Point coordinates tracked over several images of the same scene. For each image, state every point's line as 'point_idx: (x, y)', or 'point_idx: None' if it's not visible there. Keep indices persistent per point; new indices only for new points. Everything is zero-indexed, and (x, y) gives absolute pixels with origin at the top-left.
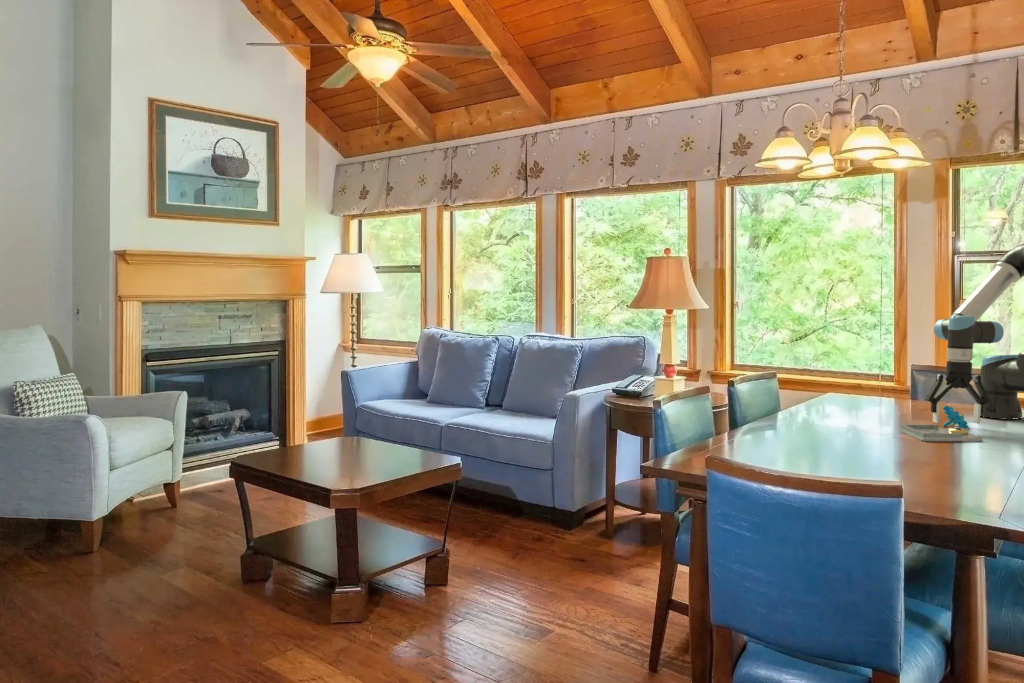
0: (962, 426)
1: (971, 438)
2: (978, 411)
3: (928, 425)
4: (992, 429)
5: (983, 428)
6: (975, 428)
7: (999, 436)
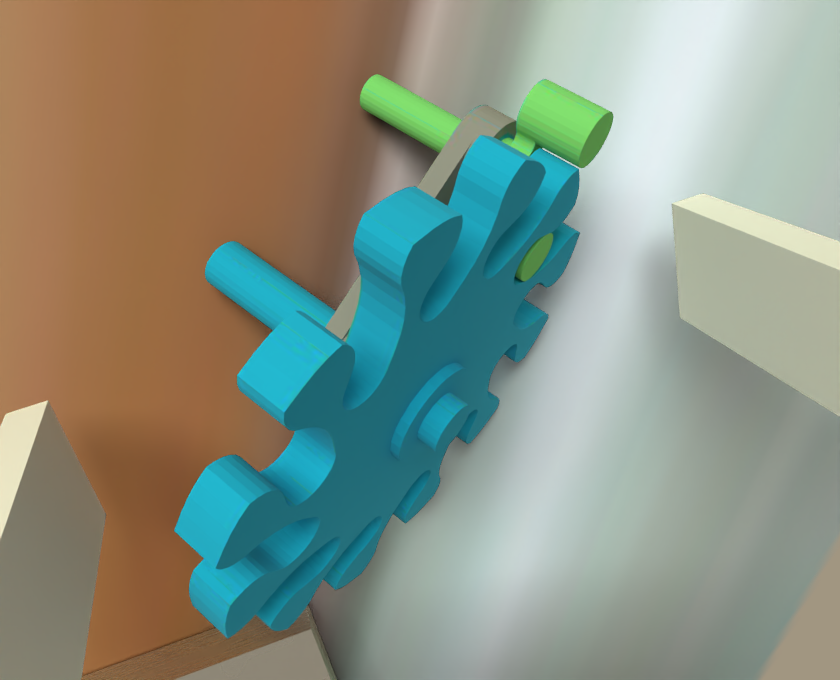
0: (430, 493)
1: None
2: (816, 401)
3: None
4: None
5: None
6: (633, 240)
7: (675, 639)
